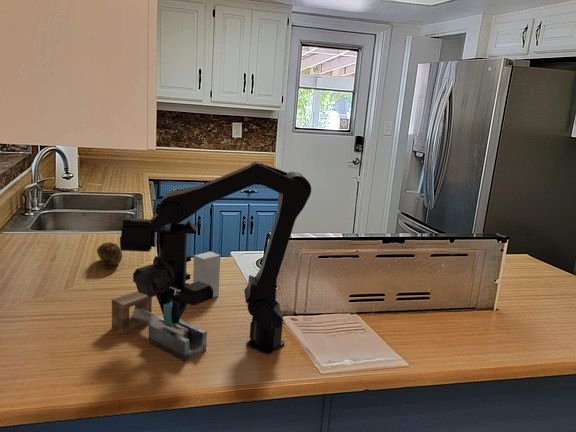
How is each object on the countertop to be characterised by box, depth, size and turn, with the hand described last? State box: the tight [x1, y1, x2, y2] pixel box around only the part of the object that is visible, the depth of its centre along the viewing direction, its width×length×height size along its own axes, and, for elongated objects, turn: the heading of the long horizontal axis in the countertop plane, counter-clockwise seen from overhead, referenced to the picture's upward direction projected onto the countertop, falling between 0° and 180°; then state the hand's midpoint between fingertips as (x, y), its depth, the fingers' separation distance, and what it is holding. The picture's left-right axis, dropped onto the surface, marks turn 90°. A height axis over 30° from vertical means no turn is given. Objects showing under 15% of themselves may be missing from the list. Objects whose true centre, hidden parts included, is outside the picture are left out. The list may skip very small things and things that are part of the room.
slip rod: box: [131, 301, 189, 339], centre depth 107 cm, size 15×3×8 cm, turn 56°
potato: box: [96, 242, 123, 266], centre depth 149 cm, size 8×13×8 cm, turn 4°
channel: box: [147, 319, 208, 363], centre depth 105 cm, size 11×6×4 cm, turn 56°
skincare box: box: [192, 251, 221, 299], centre depth 132 cm, size 6×4×12 cm
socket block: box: [111, 290, 153, 335], centre depth 113 cm, size 4×8×7 cm, turn 146°
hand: (171, 320), depth 106 cm, fingers closed on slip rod, 2 cm apart
